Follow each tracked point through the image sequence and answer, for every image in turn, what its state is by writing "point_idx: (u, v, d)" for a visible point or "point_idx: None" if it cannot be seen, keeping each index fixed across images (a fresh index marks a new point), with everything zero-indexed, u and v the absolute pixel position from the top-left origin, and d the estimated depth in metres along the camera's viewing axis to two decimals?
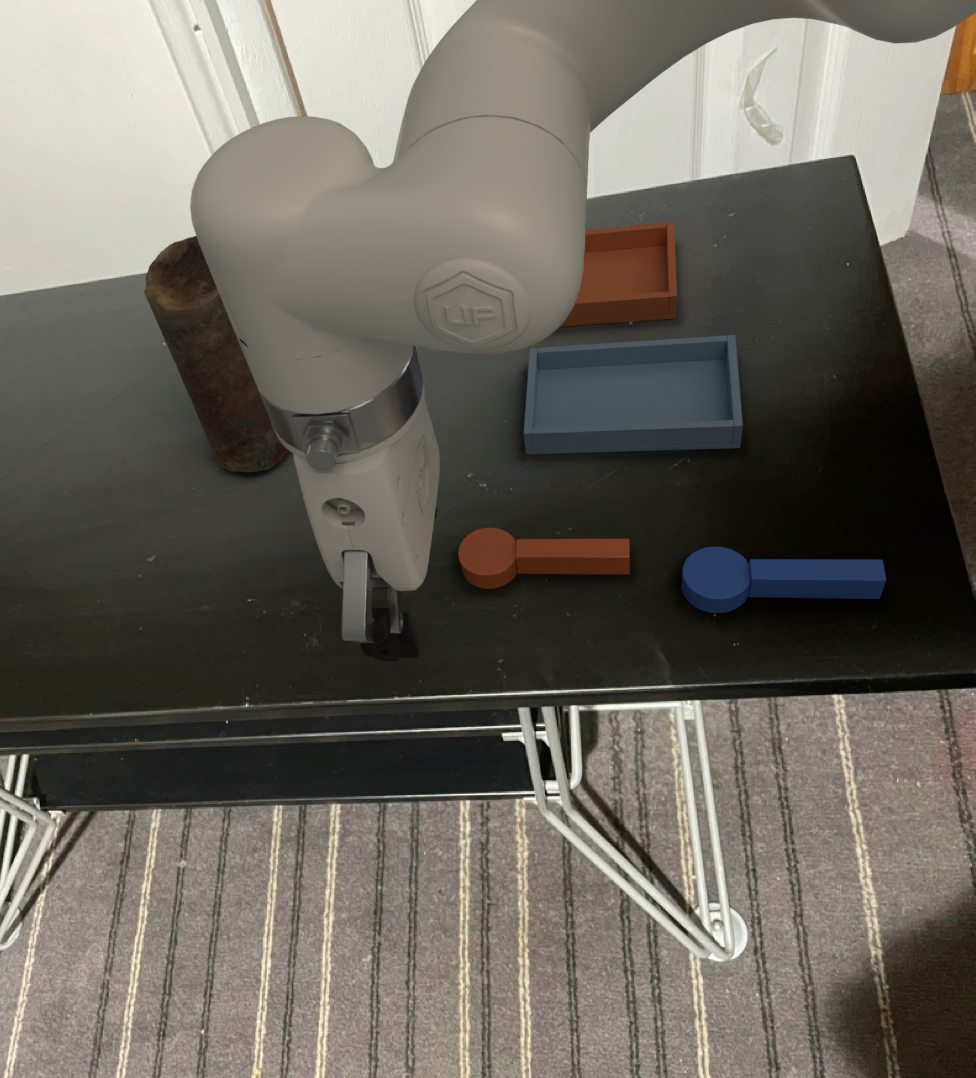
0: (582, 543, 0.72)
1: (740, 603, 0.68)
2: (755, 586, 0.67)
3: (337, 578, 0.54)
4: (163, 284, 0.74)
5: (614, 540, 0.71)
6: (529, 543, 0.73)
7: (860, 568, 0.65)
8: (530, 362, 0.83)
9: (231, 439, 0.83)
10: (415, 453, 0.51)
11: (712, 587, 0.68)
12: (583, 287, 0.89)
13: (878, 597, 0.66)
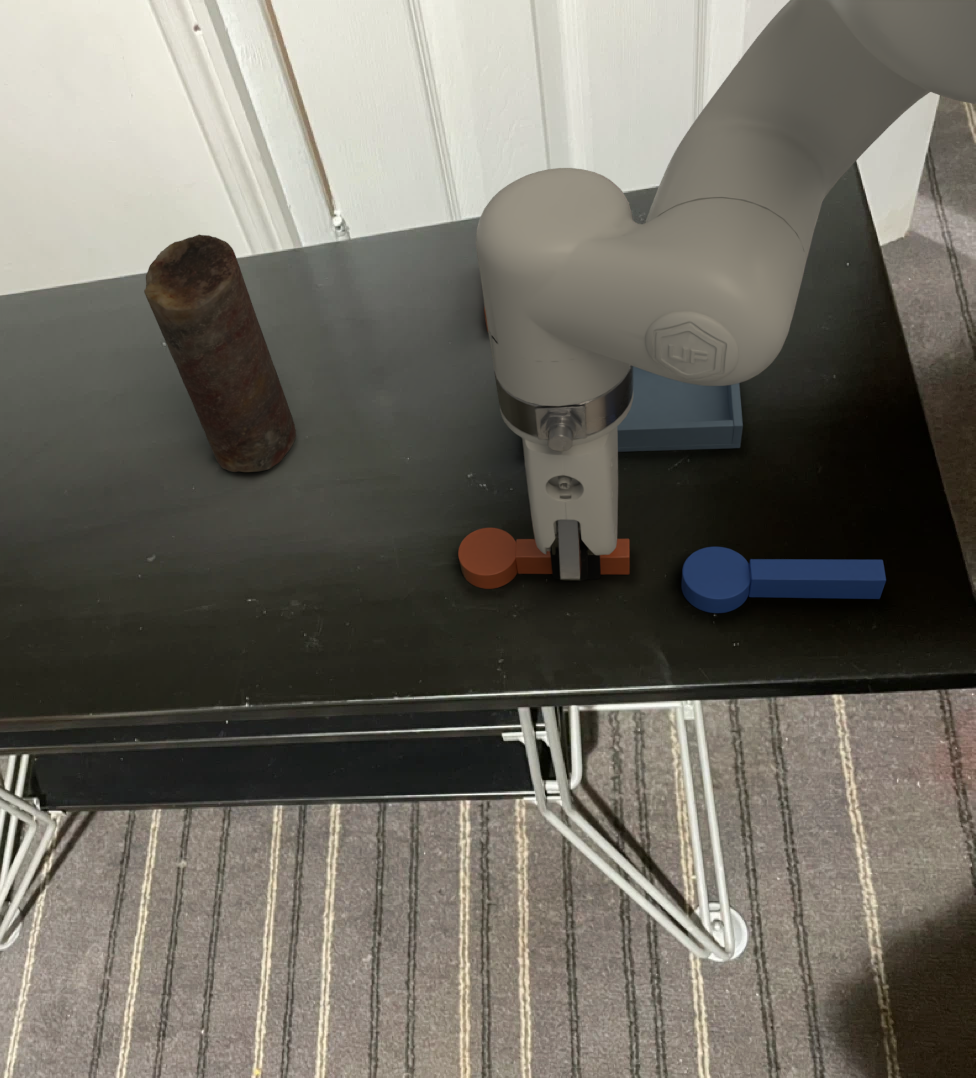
0: None
1: (740, 603, 0.68)
2: (755, 586, 0.67)
3: (544, 544, 0.64)
4: (163, 284, 0.74)
5: None
6: (529, 543, 0.73)
7: (860, 568, 0.65)
8: None
9: (231, 439, 0.83)
10: None
11: (712, 587, 0.68)
12: None
13: (878, 597, 0.66)
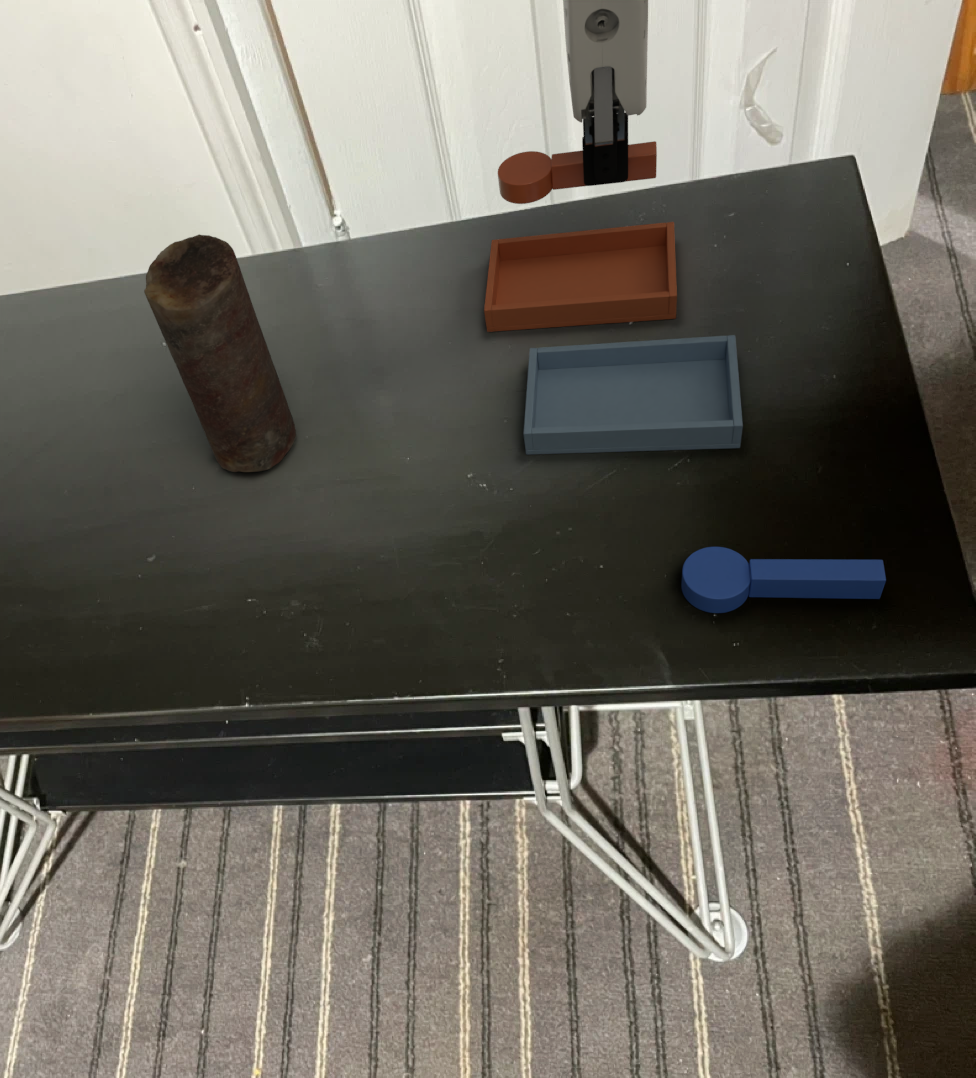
0: None
1: (740, 603, 0.68)
2: (755, 586, 0.67)
3: (580, 105, 0.71)
4: (163, 284, 0.74)
5: (642, 143, 0.78)
6: (564, 155, 0.80)
7: (860, 568, 0.65)
8: (530, 362, 0.83)
9: (231, 439, 0.83)
10: None
11: (712, 587, 0.68)
12: (583, 287, 0.89)
13: (878, 597, 0.66)
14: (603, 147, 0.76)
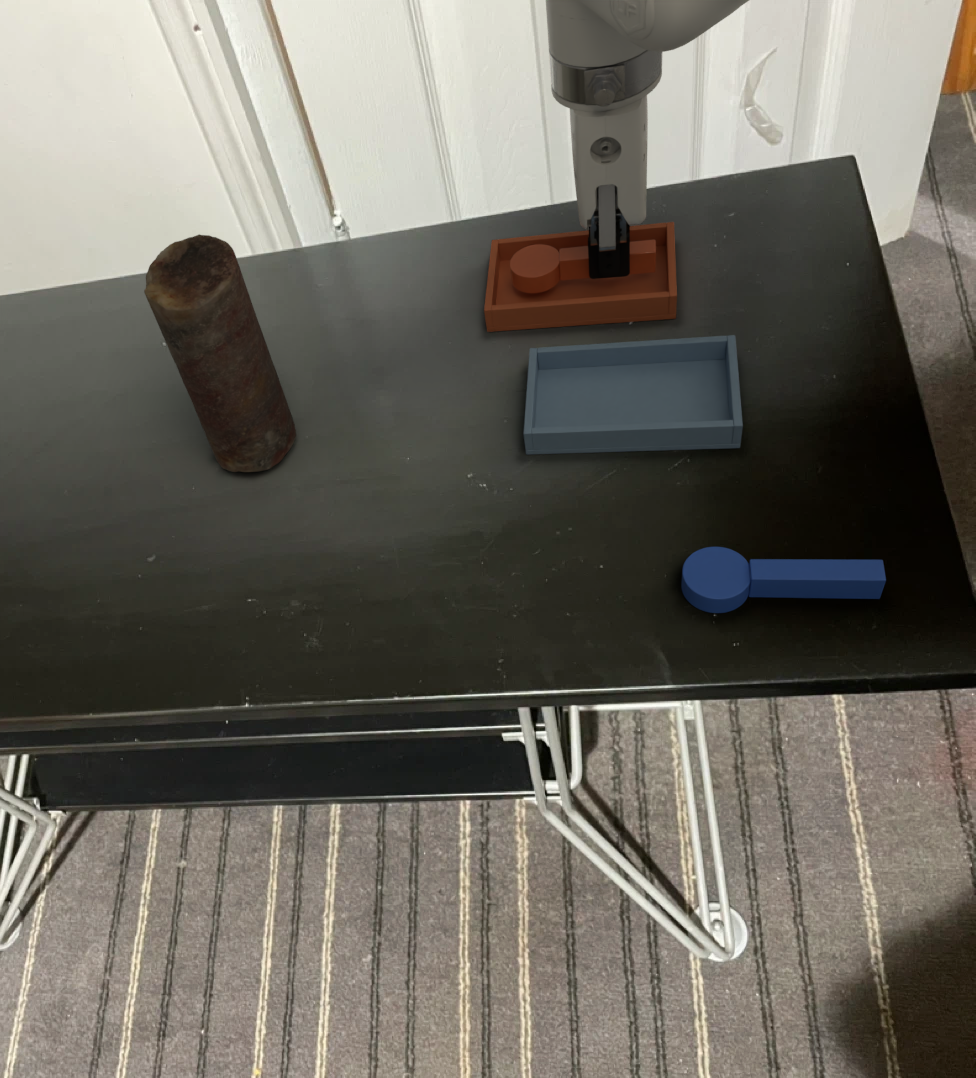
0: None
1: (740, 603, 0.68)
2: (755, 586, 0.67)
3: (586, 216, 0.78)
4: (163, 284, 0.74)
5: (642, 241, 0.85)
6: (571, 250, 0.87)
7: (860, 568, 0.65)
8: (530, 362, 0.83)
9: (231, 439, 0.83)
10: (647, 120, 0.75)
11: (712, 587, 0.68)
12: (583, 287, 0.89)
13: (878, 597, 0.66)
14: None
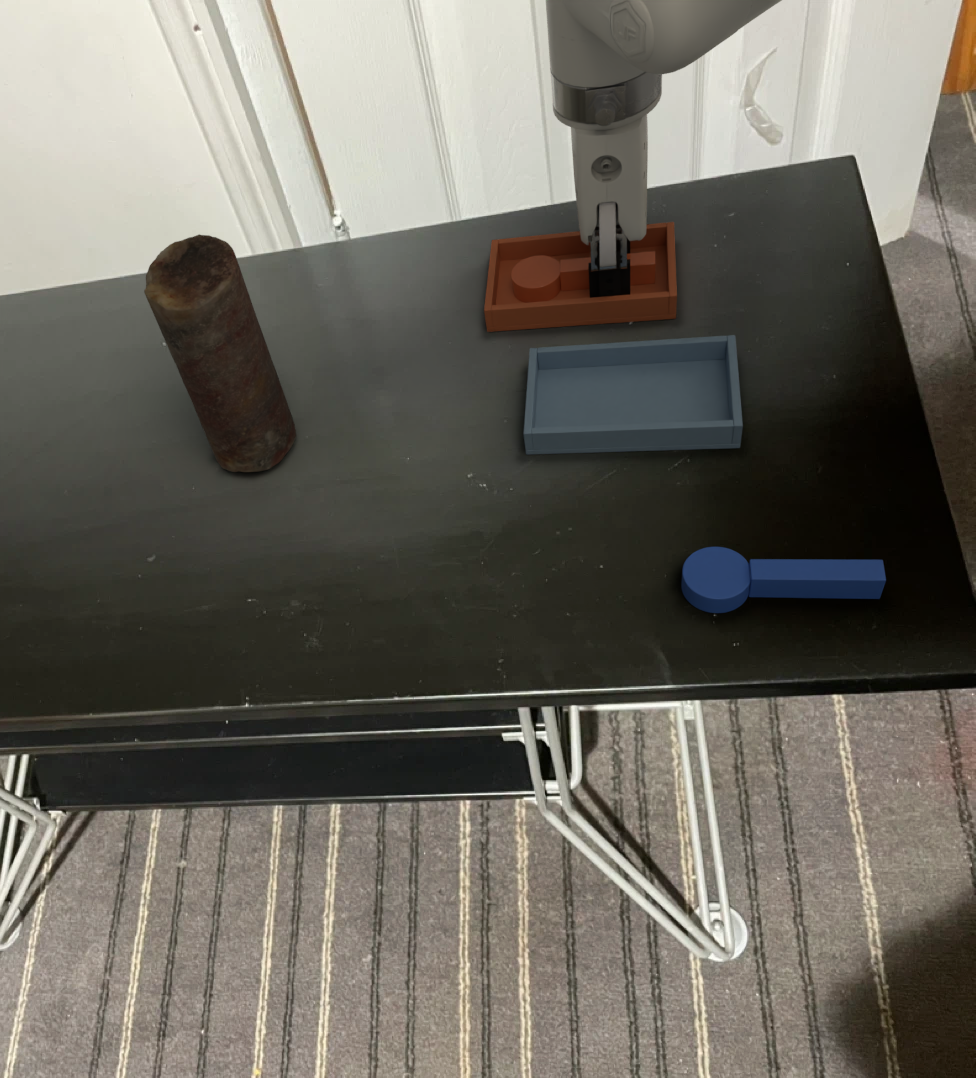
0: None
1: (740, 603, 0.68)
2: (755, 586, 0.67)
3: (587, 232, 0.79)
4: (163, 284, 0.74)
5: (642, 253, 0.86)
6: (571, 261, 0.88)
7: (860, 568, 0.65)
8: (530, 362, 0.83)
9: (231, 439, 0.83)
10: None
11: (712, 587, 0.68)
12: None
13: (878, 597, 0.66)
14: (607, 273, 0.83)
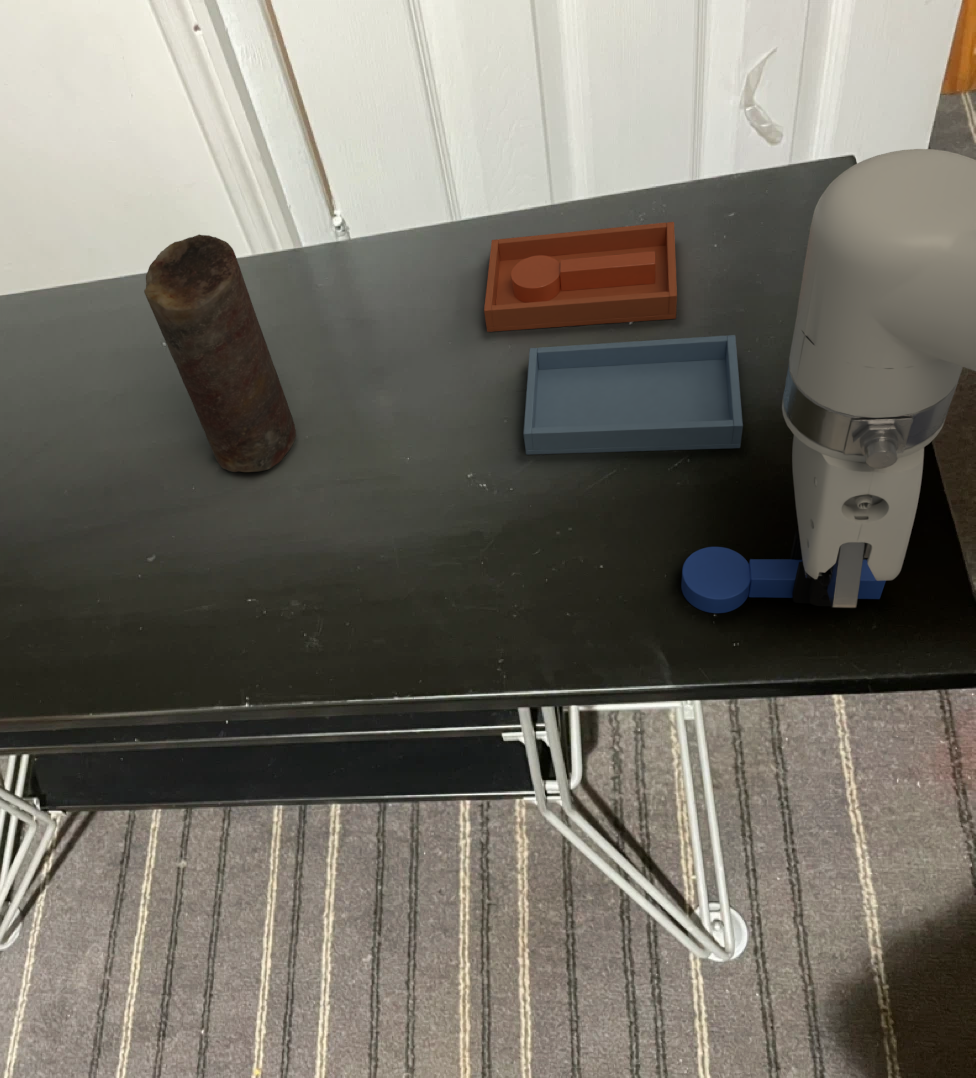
0: (616, 257, 0.87)
1: (740, 603, 0.68)
2: (755, 586, 0.67)
3: (819, 569, 0.58)
4: (163, 284, 0.74)
5: (642, 253, 0.86)
6: (571, 261, 0.88)
7: None
8: (530, 362, 0.83)
9: (231, 439, 0.83)
10: None
11: (712, 587, 0.68)
12: None
13: (878, 597, 0.66)
14: None
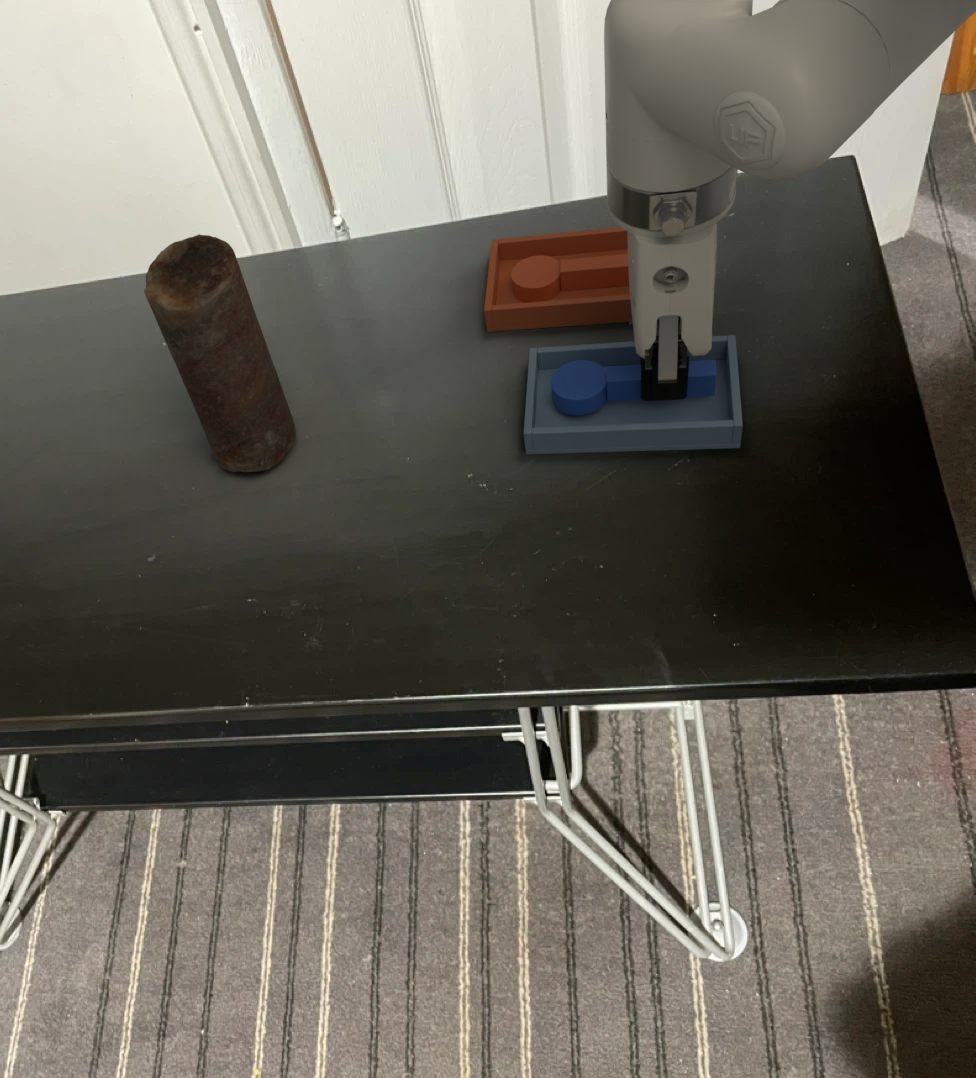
0: (616, 257, 0.87)
1: (599, 405, 0.79)
2: (610, 389, 0.78)
3: (644, 346, 0.69)
4: (163, 284, 0.74)
5: None
6: (571, 261, 0.88)
7: (696, 367, 0.76)
8: (530, 362, 0.83)
9: (231, 439, 0.83)
10: None
11: (574, 391, 0.79)
12: None
13: (713, 393, 0.77)
14: None
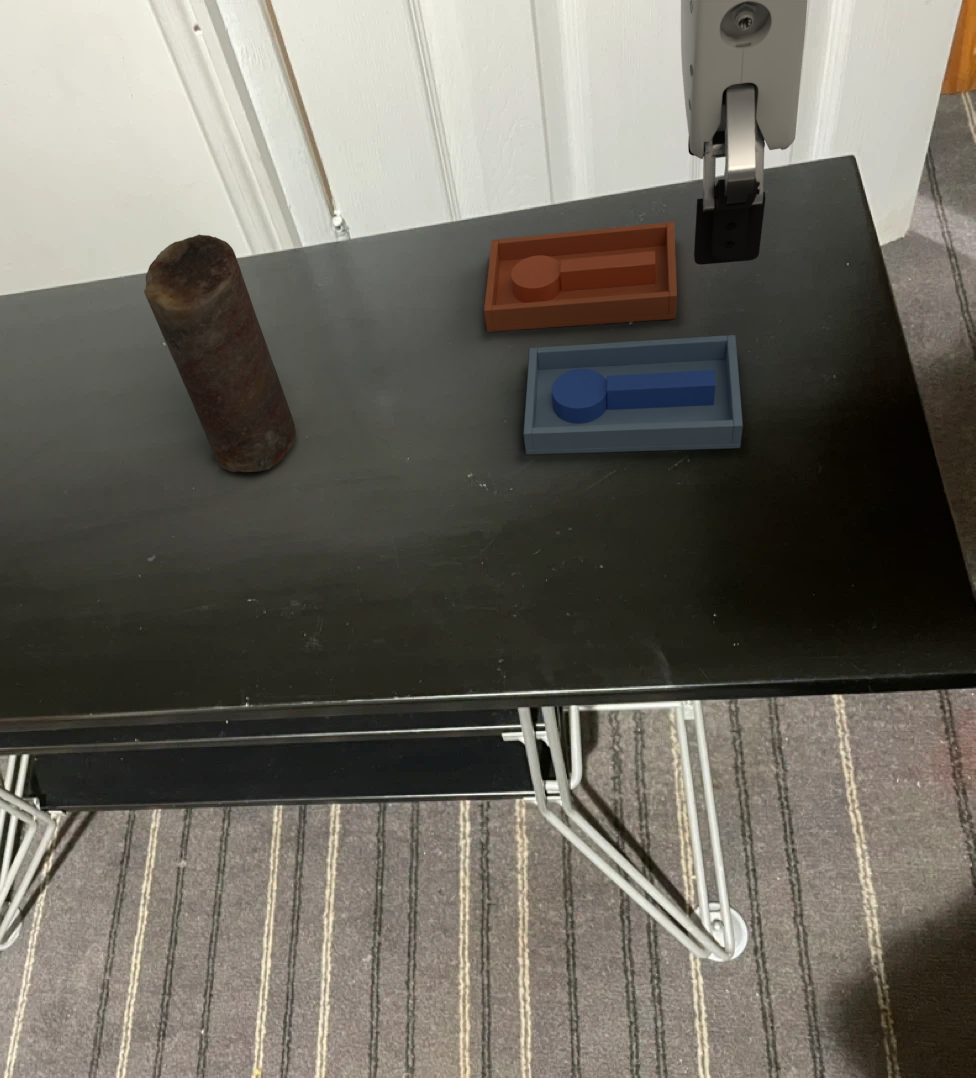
0: (616, 257, 0.87)
1: (599, 414, 0.80)
2: (611, 397, 0.79)
3: (704, 136, 0.51)
4: (163, 284, 0.74)
5: (642, 253, 0.86)
6: (571, 261, 0.88)
7: (695, 377, 0.77)
8: (530, 362, 0.83)
9: (231, 439, 0.83)
10: None
11: (574, 399, 0.80)
12: None
13: (712, 403, 0.78)
14: (729, 214, 0.53)
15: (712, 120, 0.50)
